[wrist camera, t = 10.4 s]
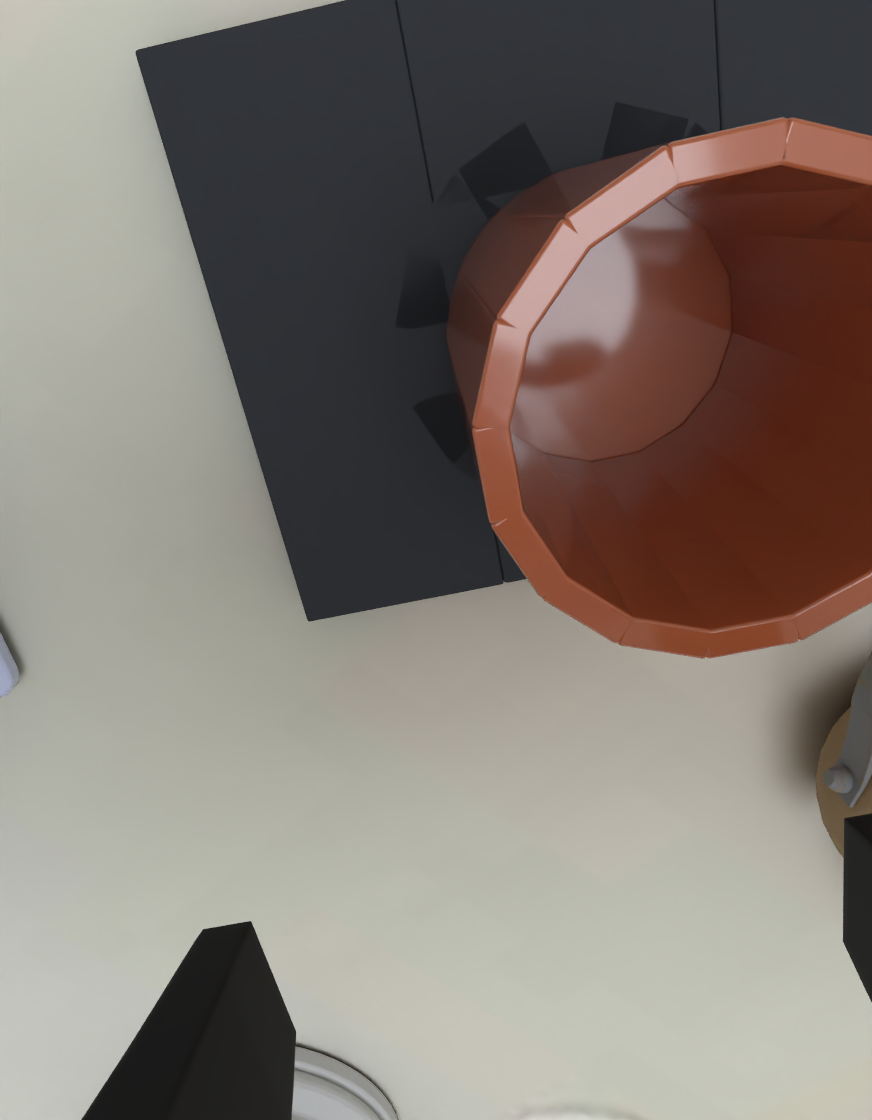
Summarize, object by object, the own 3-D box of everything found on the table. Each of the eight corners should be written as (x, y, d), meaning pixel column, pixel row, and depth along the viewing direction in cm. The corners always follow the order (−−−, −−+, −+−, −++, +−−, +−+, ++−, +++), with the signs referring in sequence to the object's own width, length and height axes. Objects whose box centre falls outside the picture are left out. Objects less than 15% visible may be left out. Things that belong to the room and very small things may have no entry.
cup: (476, 493, 16) (522, 694, 10) (419, 203, 14) (427, 195, 7) (746, 438, 16) (993, 606, 9) (732, 133, 14) (1043, 58, 7)
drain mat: (311, 606, 18) (307, 622, 18) (148, 58, 14) (133, 50, 13) (1020, 467, 17) (1047, 479, 17) (1084, -163, 13) (1123, -186, 12)
